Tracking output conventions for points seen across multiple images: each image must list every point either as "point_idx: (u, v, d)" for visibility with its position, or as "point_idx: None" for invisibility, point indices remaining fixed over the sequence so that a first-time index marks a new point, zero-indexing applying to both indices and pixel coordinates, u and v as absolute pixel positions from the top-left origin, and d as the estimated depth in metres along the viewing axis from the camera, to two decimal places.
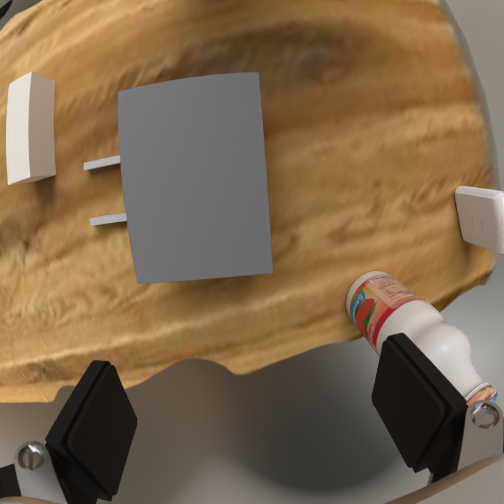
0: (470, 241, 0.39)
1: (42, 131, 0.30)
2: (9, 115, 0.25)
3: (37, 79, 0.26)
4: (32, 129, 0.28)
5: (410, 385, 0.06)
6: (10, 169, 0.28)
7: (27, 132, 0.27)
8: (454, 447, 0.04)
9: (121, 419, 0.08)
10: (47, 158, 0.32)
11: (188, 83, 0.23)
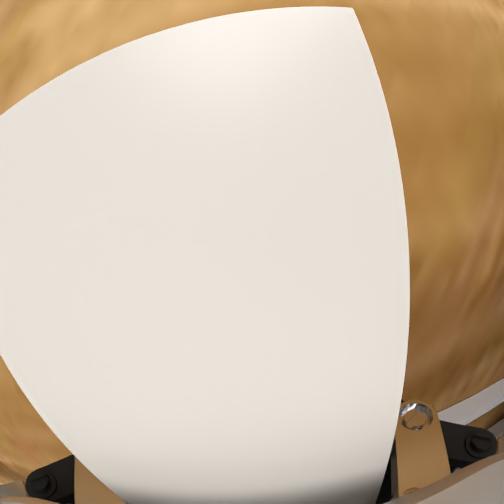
0: None
1: None
2: (135, 486, 0.03)
3: None
4: None
5: None
6: None
7: None
8: None
9: None
10: None
11: None
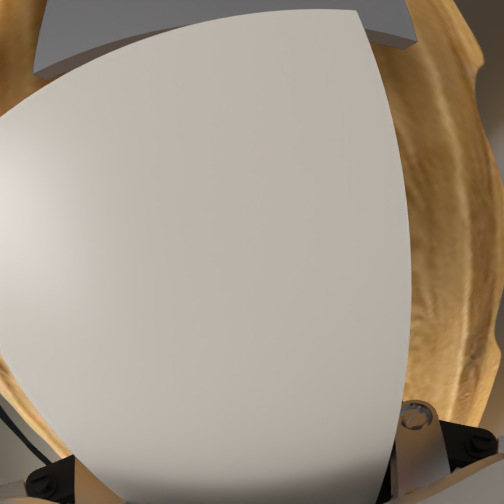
0: None
1: None
2: (136, 487, 0.03)
3: None
4: None
5: None
6: None
7: None
8: None
9: None
10: None
11: None
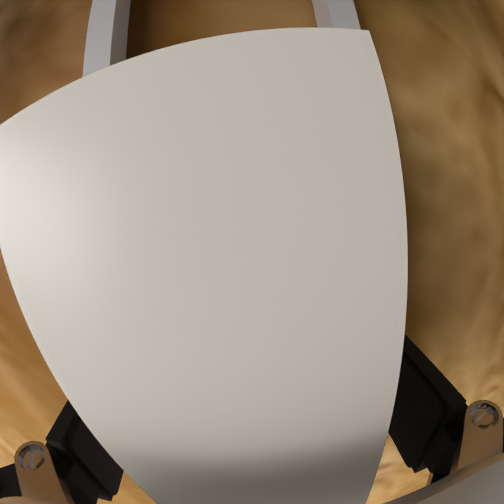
0: None
1: None
2: (145, 459, 0.04)
3: None
4: None
5: (410, 385, 0.06)
6: None
7: (363, 501, 0.05)
8: (454, 447, 0.04)
9: None
10: None
11: None
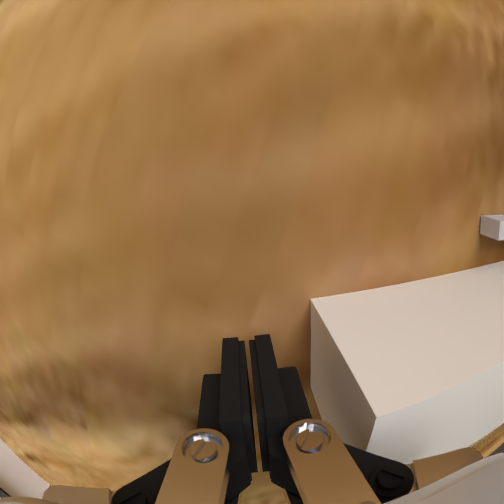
0: None
1: None
2: None
3: None
4: None
5: None
6: (436, 411, 0.05)
7: (480, 438, 0.07)
8: (276, 461, 0.05)
9: (249, 394, 0.09)
10: None
11: None
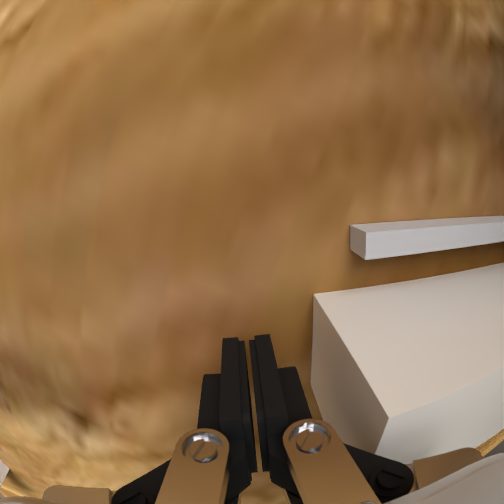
0: None
1: None
2: None
3: None
4: None
5: None
6: (447, 412, 0.05)
7: None
8: (277, 461, 0.05)
9: None
10: None
11: None
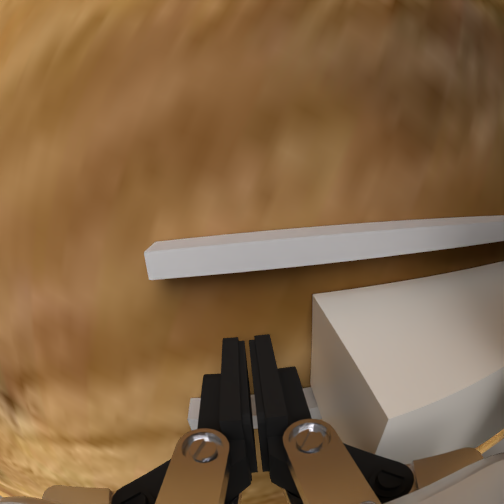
0: None
1: None
2: None
3: None
4: None
5: None
6: (447, 412, 0.05)
7: (485, 440, 0.06)
8: (276, 461, 0.05)
9: None
10: None
11: None
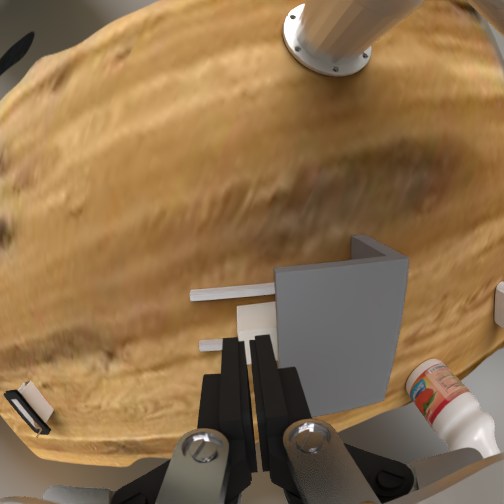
0: (500, 325, 0.42)
1: None
2: None
3: None
4: None
5: None
6: (255, 335, 0.32)
7: None
8: (277, 461, 0.05)
9: None
10: None
11: (351, 271, 0.26)
